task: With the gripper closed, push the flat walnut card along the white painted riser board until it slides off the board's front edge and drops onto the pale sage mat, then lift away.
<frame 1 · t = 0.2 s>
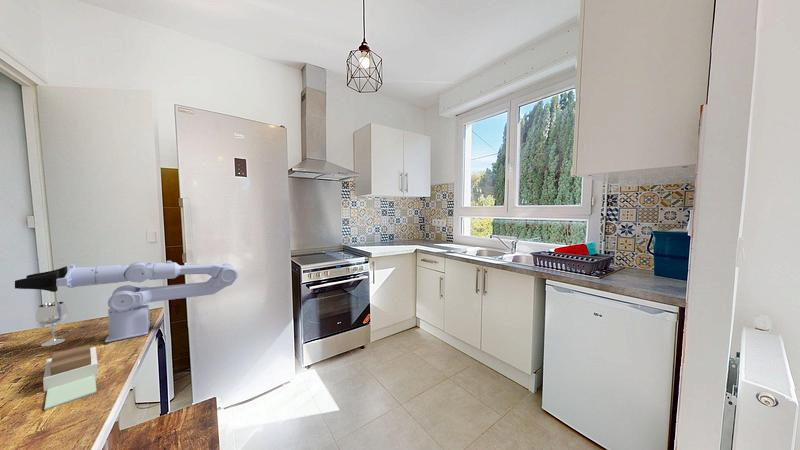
hand: (21, 281, 71), 21 cm above the table, tool horizontal, fingers open, 7 cm apart
wineglass: (53, 343, 79), on the table
card: (72, 362, 65), point 3 cm above the table, touching deck
mat: (72, 391, 59), on the table
deck: (72, 372, 66), on the table
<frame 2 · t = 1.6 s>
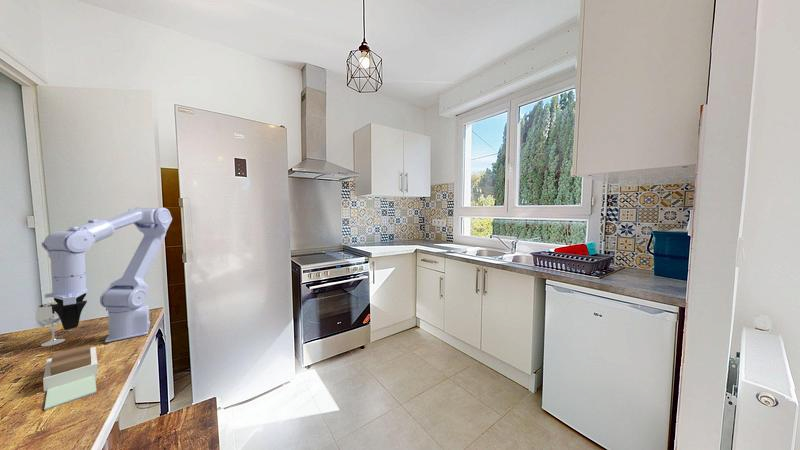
hand: (71, 324, 71), 10 cm above the table, tool pointing down, fingers open, 7 cm apart
nothing on the table moved.
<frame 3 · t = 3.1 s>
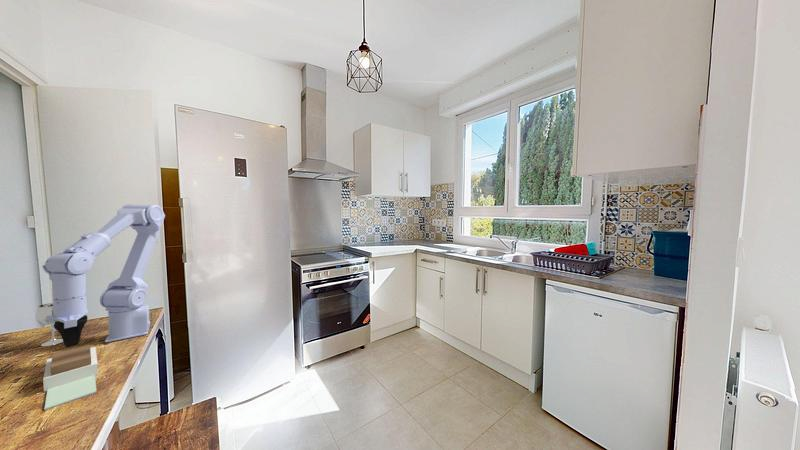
hand: (72, 345, 71), 4 cm above the table, tool pointing down, fingers closed
nothing on the table moved.
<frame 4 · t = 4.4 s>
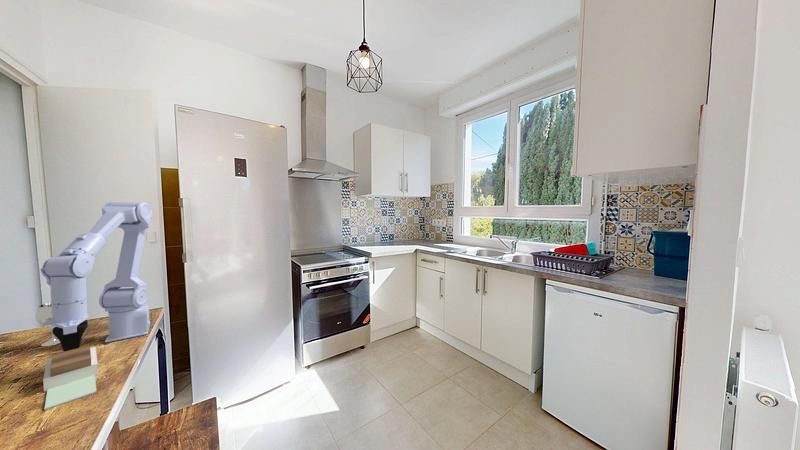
hand: (71, 352, 68), 4 cm above the table, tool pointing down, fingers closed
card: (72, 363, 64), point 3 cm above the table
everything else where it was.
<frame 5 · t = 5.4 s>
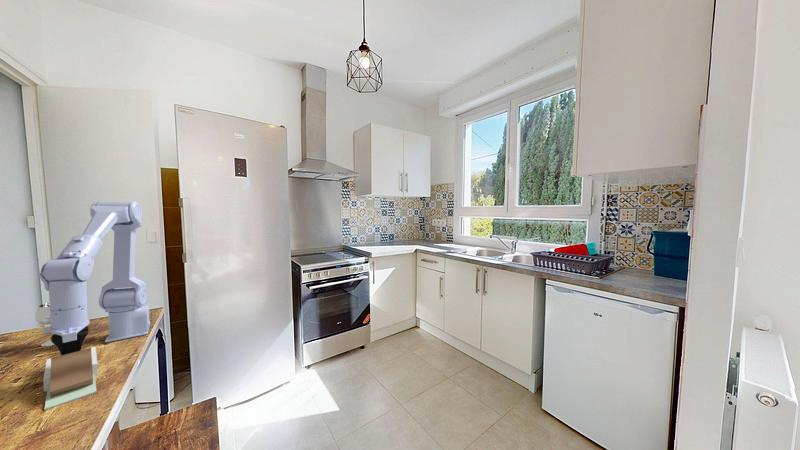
hand: (71, 360, 64), 4 cm above the table, tool pointing down, fingers closed
card: (72, 373, 61), point 3 cm above the table, tilted 31°, touching gripper
everything else where it was.
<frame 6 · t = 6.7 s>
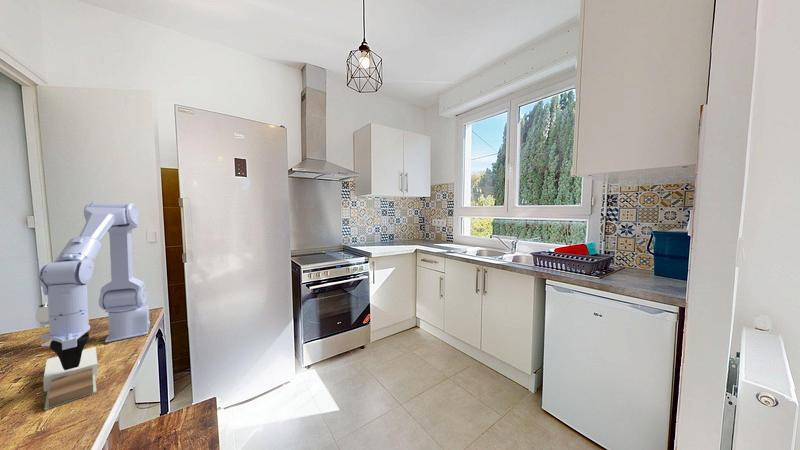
hand: (71, 367, 61), 4 cm above the table, tool pointing down, fingers closed
card: (72, 390, 59), resting on mat
everything else where it was.
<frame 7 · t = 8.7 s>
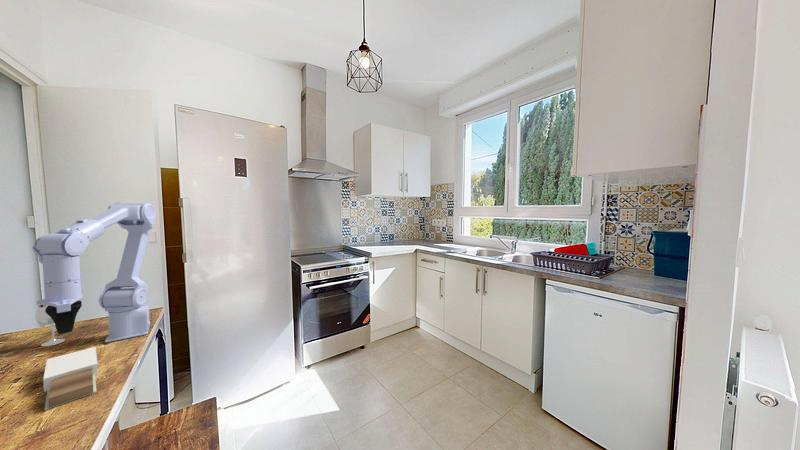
hand: (65, 332, 66), 10 cm above the table, tool pointing down, fingers closed
nothing on the table moved.
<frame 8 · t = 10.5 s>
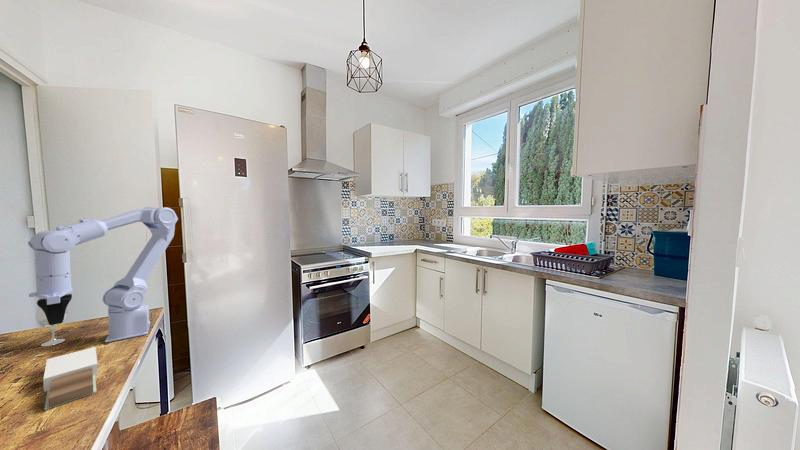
hand: (56, 323, 71), 10 cm above the table, tool pointing down, fingers closed
nothing on the table moved.
at the end: card resting on mat; card inside the target area on the mat (0.2 cm from its centre), point 0.3 cm above the mat's base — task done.
